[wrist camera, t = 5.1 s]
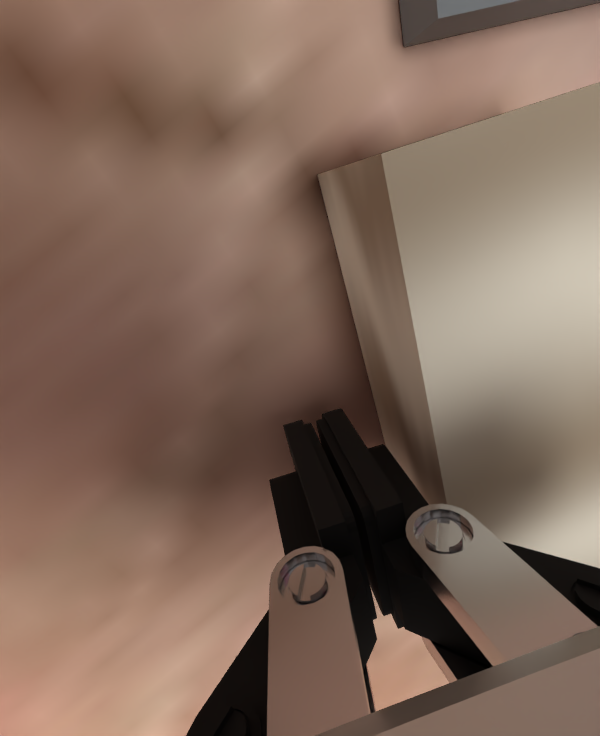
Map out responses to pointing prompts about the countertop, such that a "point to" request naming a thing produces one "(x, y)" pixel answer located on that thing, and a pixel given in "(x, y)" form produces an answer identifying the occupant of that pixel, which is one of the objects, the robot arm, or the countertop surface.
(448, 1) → the dock
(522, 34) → the countertop surface
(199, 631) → the countertop surface
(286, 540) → the robot arm
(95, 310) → the countertop surface
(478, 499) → the t block
